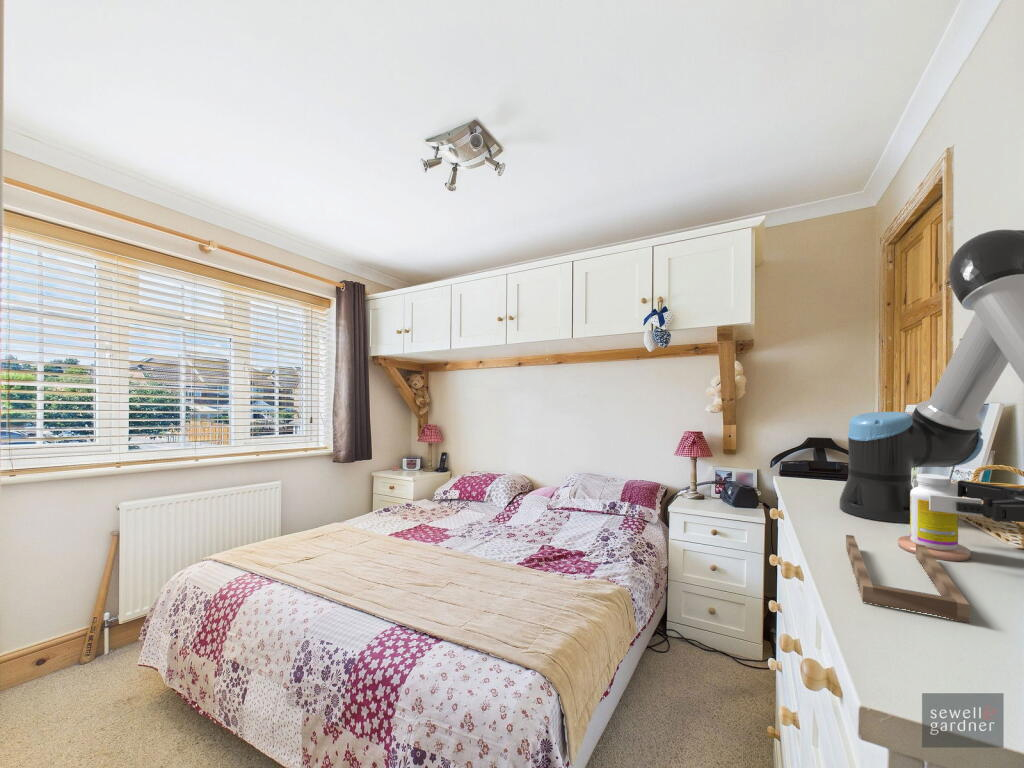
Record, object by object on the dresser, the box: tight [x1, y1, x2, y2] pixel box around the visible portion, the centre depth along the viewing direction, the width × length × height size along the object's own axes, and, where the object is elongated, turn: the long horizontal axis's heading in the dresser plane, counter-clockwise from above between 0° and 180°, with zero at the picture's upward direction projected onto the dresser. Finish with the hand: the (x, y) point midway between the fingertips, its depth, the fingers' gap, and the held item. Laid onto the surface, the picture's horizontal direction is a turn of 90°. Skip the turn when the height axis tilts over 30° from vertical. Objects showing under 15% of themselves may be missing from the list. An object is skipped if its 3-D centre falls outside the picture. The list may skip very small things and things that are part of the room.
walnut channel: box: [845, 534, 971, 624], centre depth 76 cm, size 25×11×2 cm, turn 149°
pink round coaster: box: [897, 535, 971, 562], centre depth 88 cm, size 10×10×1 cm
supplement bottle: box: [909, 473, 959, 551], centre depth 88 cm, size 7×7×13 cm
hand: (920, 493), depth 88 cm, fingers open, 13 cm apart
